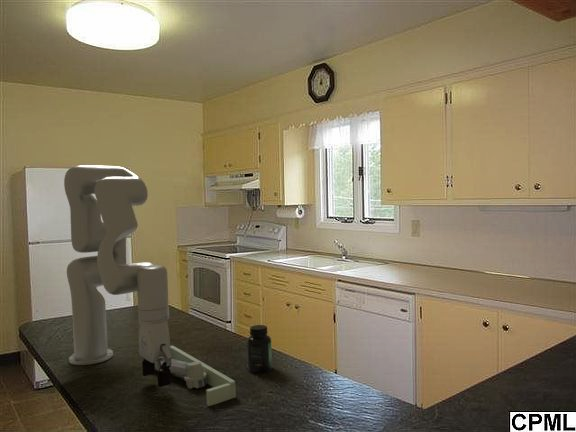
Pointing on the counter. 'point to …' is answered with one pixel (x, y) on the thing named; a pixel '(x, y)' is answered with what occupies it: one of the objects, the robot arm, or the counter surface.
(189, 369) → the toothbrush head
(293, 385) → the counter surface
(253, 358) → the supplement bottle
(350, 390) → the counter surface
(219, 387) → the bracket
